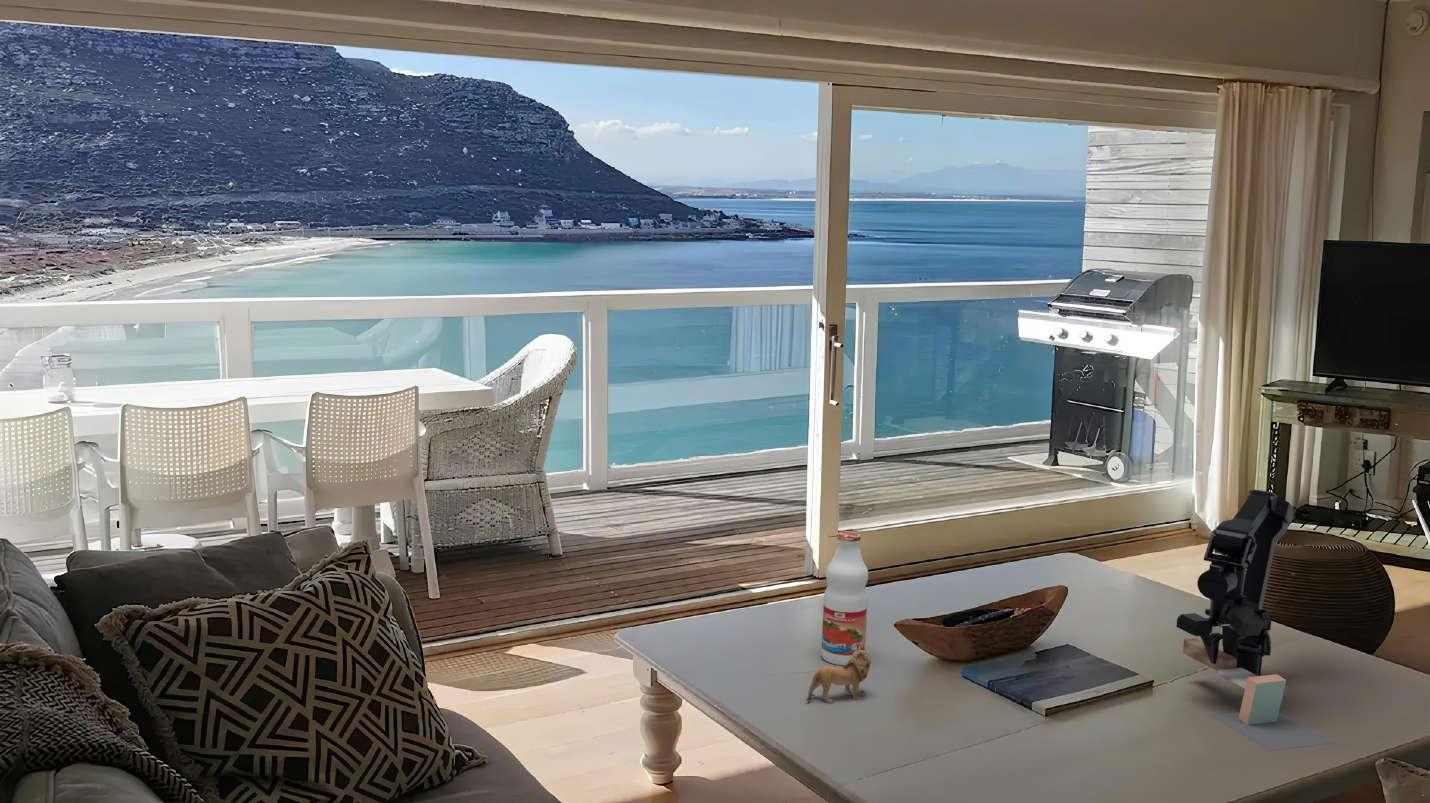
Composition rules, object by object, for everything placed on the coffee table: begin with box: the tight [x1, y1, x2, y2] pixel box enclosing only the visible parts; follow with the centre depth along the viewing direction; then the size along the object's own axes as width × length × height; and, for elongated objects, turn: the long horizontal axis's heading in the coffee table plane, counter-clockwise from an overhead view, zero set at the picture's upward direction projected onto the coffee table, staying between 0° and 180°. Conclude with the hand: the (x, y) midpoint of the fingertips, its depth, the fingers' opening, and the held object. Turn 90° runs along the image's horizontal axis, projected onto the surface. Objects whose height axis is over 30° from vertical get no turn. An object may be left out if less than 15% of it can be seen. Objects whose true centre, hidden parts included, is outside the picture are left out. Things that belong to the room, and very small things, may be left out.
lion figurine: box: [805, 650, 872, 704], centre depth 230 cm, size 15×5×9 cm, turn 119°
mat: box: [1209, 711, 1336, 752], centre depth 221 cm, size 15×16×1 cm
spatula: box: [1182, 637, 1257, 690], centre depth 233 cm, size 20×6×3 cm, turn 17°
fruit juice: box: [820, 530, 869, 666], centre depth 249 cm, size 9×9×28 cm
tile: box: [1239, 673, 1287, 725], centre depth 223 cm, size 7×2×9 cm, turn 107°
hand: (1219, 662), depth 234 cm, fingers closed on spatula, 3 cm apart
